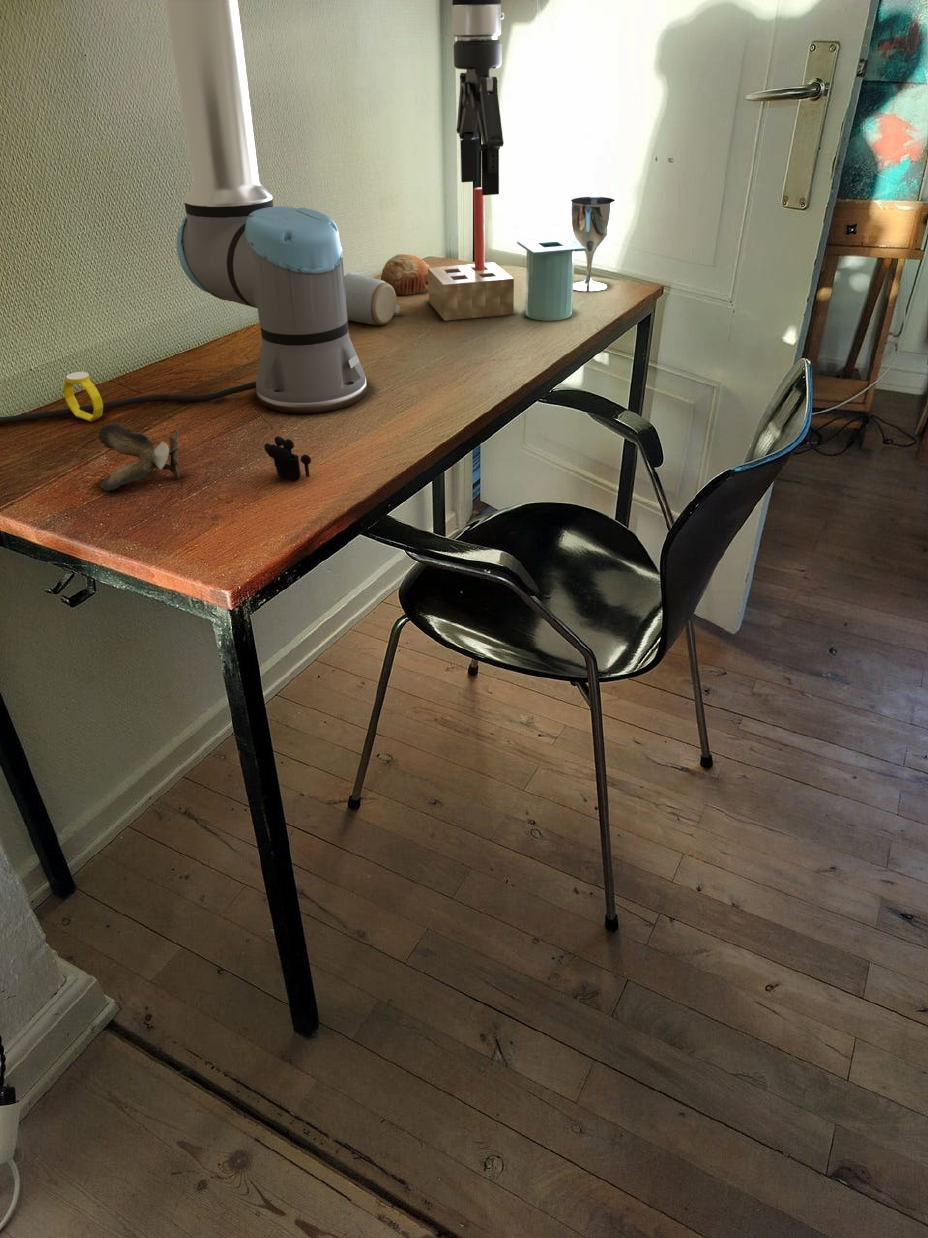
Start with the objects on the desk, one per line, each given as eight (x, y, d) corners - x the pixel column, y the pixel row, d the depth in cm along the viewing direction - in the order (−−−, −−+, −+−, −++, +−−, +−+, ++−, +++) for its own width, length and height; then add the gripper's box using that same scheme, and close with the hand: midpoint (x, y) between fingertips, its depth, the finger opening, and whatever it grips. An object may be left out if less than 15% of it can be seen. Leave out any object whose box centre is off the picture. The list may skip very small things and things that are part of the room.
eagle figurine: (179, 449, 108) (99, 445, 105) (179, 412, 102) (93, 407, 99) (179, 503, 105) (97, 500, 102) (179, 469, 99) (91, 466, 96)
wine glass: (618, 287, 170) (624, 200, 161) (585, 294, 166) (590, 206, 157) (590, 278, 175) (594, 194, 167) (558, 285, 171) (561, 200, 163)
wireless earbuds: (316, 483, 102) (311, 441, 99) (301, 491, 100) (295, 449, 98) (272, 469, 105) (266, 428, 103) (257, 477, 104) (250, 436, 101)
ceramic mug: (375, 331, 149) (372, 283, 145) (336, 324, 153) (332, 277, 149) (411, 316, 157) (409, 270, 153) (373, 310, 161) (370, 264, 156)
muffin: (390, 301, 178) (370, 263, 174) (436, 275, 176) (417, 237, 172) (392, 315, 170) (371, 276, 165) (440, 288, 168) (420, 248, 164)
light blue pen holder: (533, 322, 152) (535, 253, 146) (519, 309, 158) (520, 243, 152) (578, 318, 154) (581, 250, 147) (562, 305, 160) (565, 240, 154)
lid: (533, 254, 145) (533, 252, 145) (517, 243, 152) (517, 240, 152) (585, 250, 147) (585, 247, 147) (567, 239, 154) (567, 236, 154)
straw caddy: (444, 320, 154) (443, 284, 150) (428, 301, 164) (427, 267, 160) (513, 314, 156) (514, 278, 153) (494, 296, 166) (494, 262, 163)
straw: (476, 304, 162) (475, 189, 151) (474, 302, 163) (472, 187, 152) (486, 303, 162) (485, 188, 151) (483, 301, 163) (482, 186, 153)
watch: (65, 417, 120) (52, 374, 117) (81, 411, 122) (70, 368, 119) (94, 426, 118) (83, 381, 114) (111, 419, 120) (100, 375, 116)
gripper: (524, 39, 131) (522, 198, 143) (479, 35, 151) (481, 175, 163) (474, 41, 129) (477, 202, 141) (436, 37, 149) (441, 177, 161)
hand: (479, 187), depth 152 cm, fingers open, 13 cm apart
